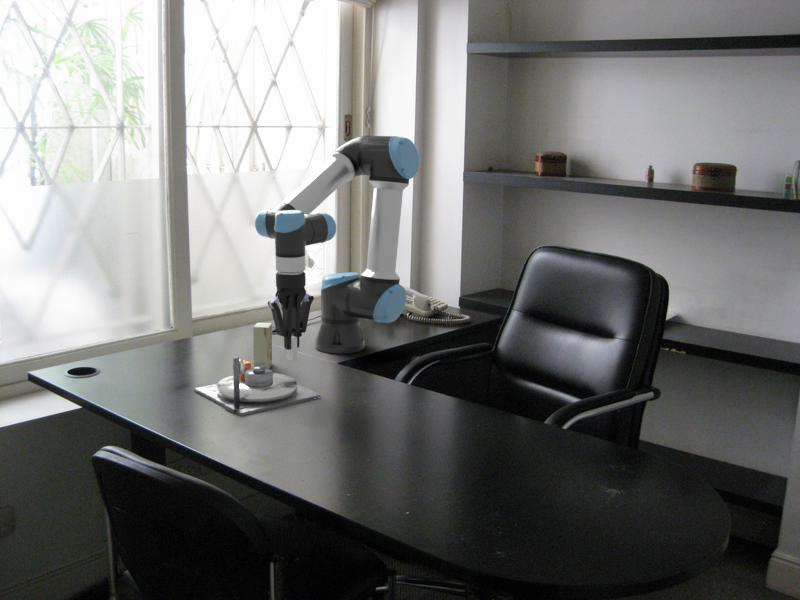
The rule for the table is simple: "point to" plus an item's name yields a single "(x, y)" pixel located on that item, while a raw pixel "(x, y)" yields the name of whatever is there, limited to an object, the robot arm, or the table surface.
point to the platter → (278, 390)
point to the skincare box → (262, 344)
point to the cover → (258, 377)
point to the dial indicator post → (236, 385)
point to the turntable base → (255, 407)
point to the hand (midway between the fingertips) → (292, 360)
